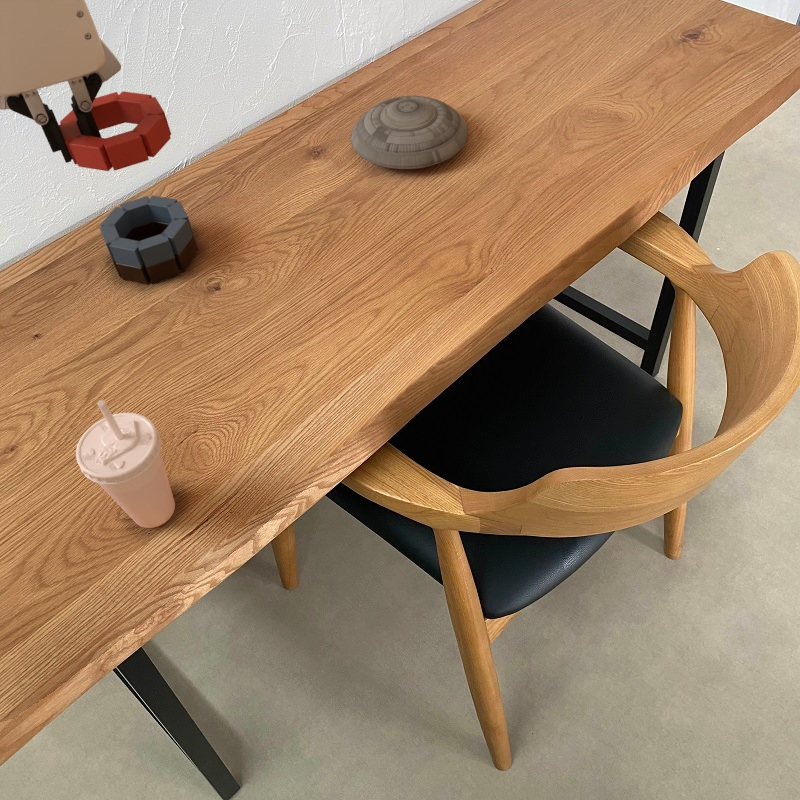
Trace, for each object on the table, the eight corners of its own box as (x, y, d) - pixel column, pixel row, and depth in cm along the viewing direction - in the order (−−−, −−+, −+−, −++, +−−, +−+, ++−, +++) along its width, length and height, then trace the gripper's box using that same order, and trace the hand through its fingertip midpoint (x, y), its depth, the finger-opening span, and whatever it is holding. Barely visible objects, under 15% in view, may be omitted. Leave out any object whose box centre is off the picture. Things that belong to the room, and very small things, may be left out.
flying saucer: (379, 192, 96) (375, 152, 92) (334, 131, 105) (329, 93, 101) (489, 156, 99) (490, 116, 95) (436, 101, 108) (435, 62, 104)
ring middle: (119, 277, 85) (111, 259, 84) (101, 229, 91) (93, 212, 89) (201, 248, 88) (195, 231, 86) (178, 204, 93) (172, 187, 91)
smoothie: (204, 492, 70) (157, 390, 59) (162, 552, 66) (103, 455, 56) (146, 469, 72) (89, 366, 61) (101, 526, 68) (33, 427, 58)
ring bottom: (126, 293, 87) (118, 277, 85) (107, 246, 93) (100, 230, 91) (206, 265, 89) (200, 249, 88) (183, 221, 95) (178, 204, 93)
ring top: (81, 181, 71) (71, 158, 69) (61, 133, 77) (52, 110, 75) (180, 150, 73) (173, 127, 71) (154, 105, 79) (147, 82, 77)
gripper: (83, -103, 64) (152, 108, 78) (-125, -57, 60) (-13, 157, 74) (104, -74, 59) (173, 145, 73) (-119, -21, 56) (-1, 198, 70)
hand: (79, 149), depth 74 cm, fingers closed on ring top, 1 cm apart
